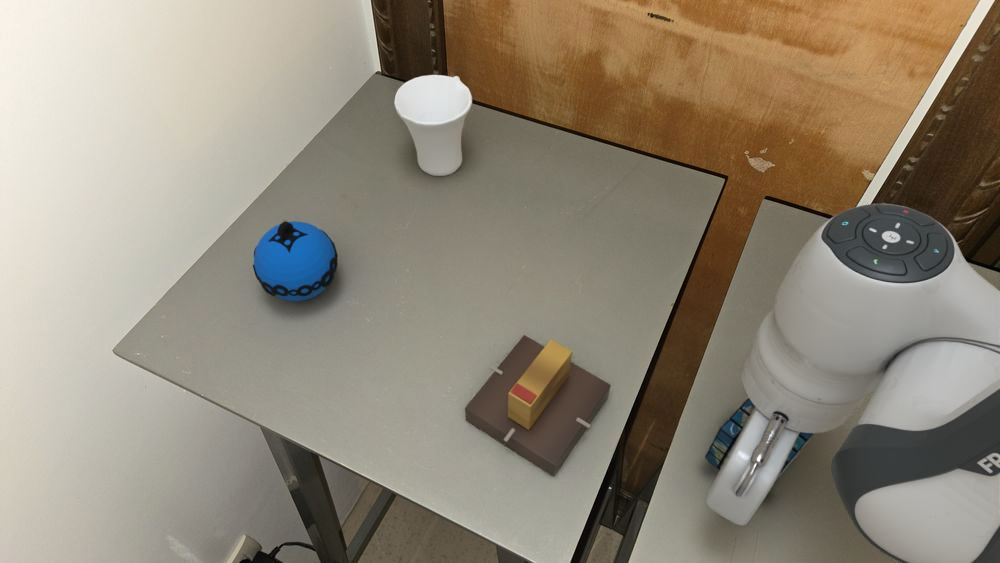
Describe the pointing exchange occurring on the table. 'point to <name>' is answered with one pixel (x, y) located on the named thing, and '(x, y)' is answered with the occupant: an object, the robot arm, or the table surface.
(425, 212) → the table surface
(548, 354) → the stamp
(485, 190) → the table surface
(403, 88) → the cup
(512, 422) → the stamp base
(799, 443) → the puzzle
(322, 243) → the ornament
